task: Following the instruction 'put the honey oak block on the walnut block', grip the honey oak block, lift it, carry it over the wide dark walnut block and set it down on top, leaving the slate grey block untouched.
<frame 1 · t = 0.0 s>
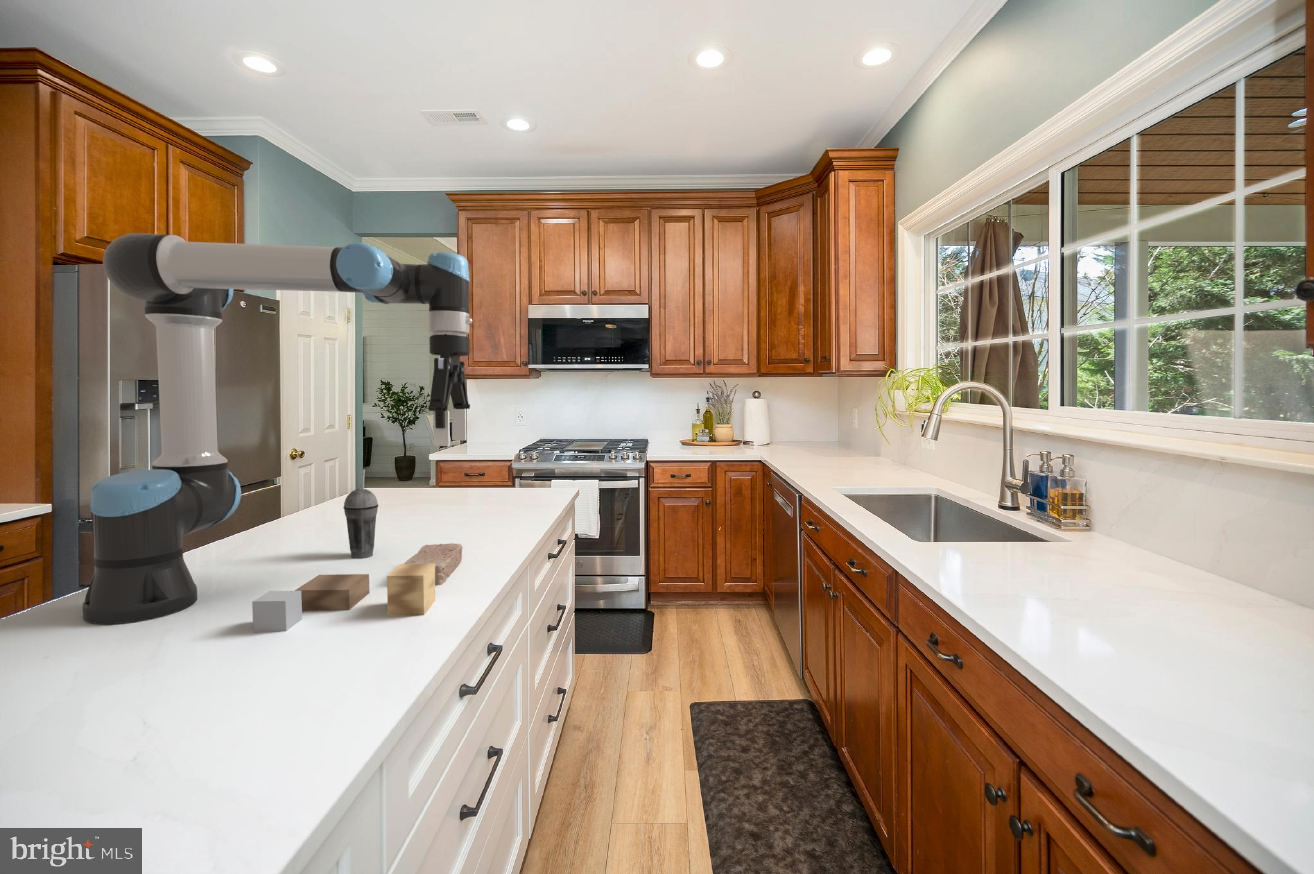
hand: (451, 443, 120), 28 cm above the worktop, fingers open, 13 cm apart
grey block: (278, 625, 98), on the worktop
oak block: (412, 608, 107), on the worktop
walnut block: (334, 603, 110), on the worktop
beverage cup: (362, 556, 140), on the worktop
brick: (434, 575, 128), on the worktop
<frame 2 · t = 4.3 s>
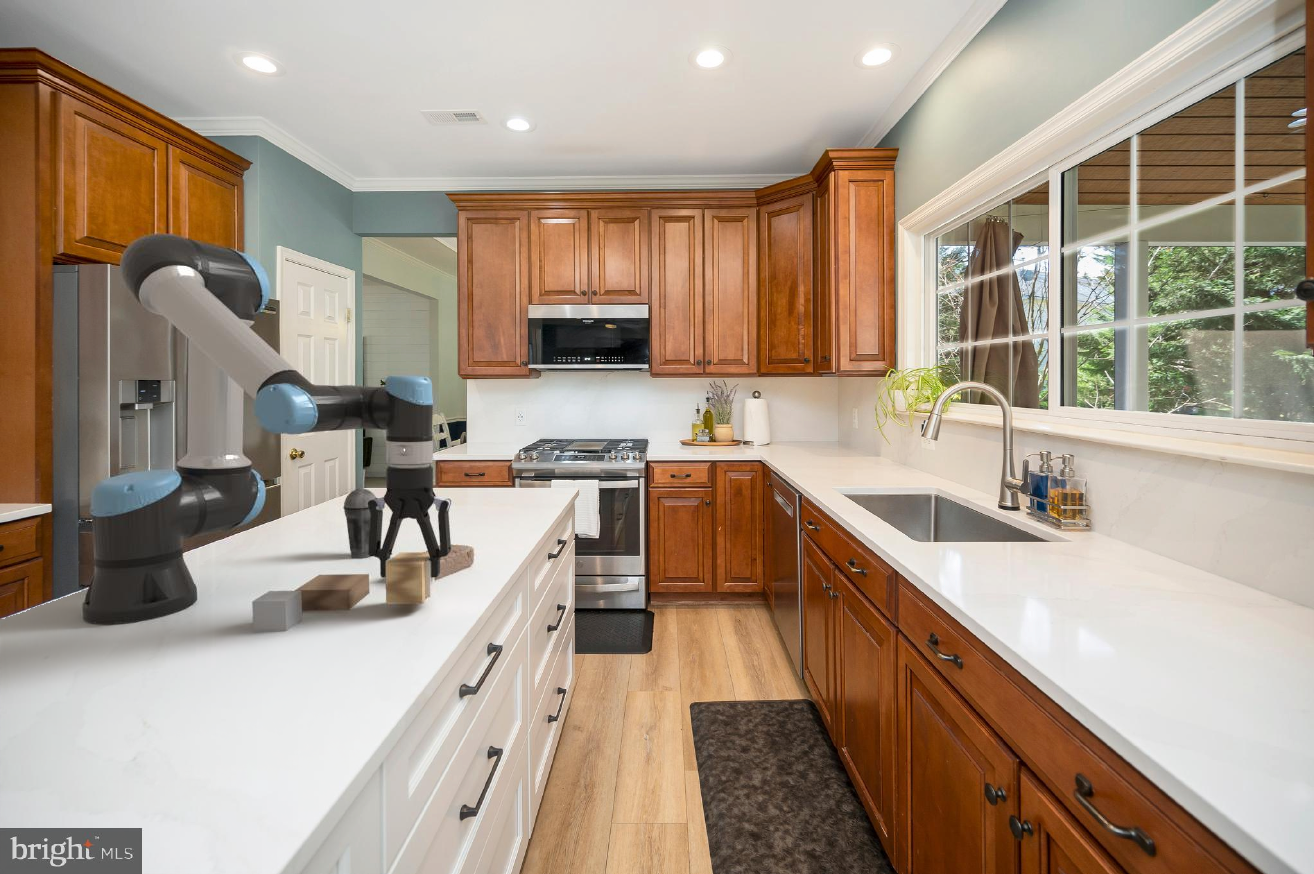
hand: (410, 594, 107), 2 cm above the worktop, fingers closed on oak block, 6 cm apart
oak block: (410, 596, 107), point 2 cm above the worktop, touching gripper
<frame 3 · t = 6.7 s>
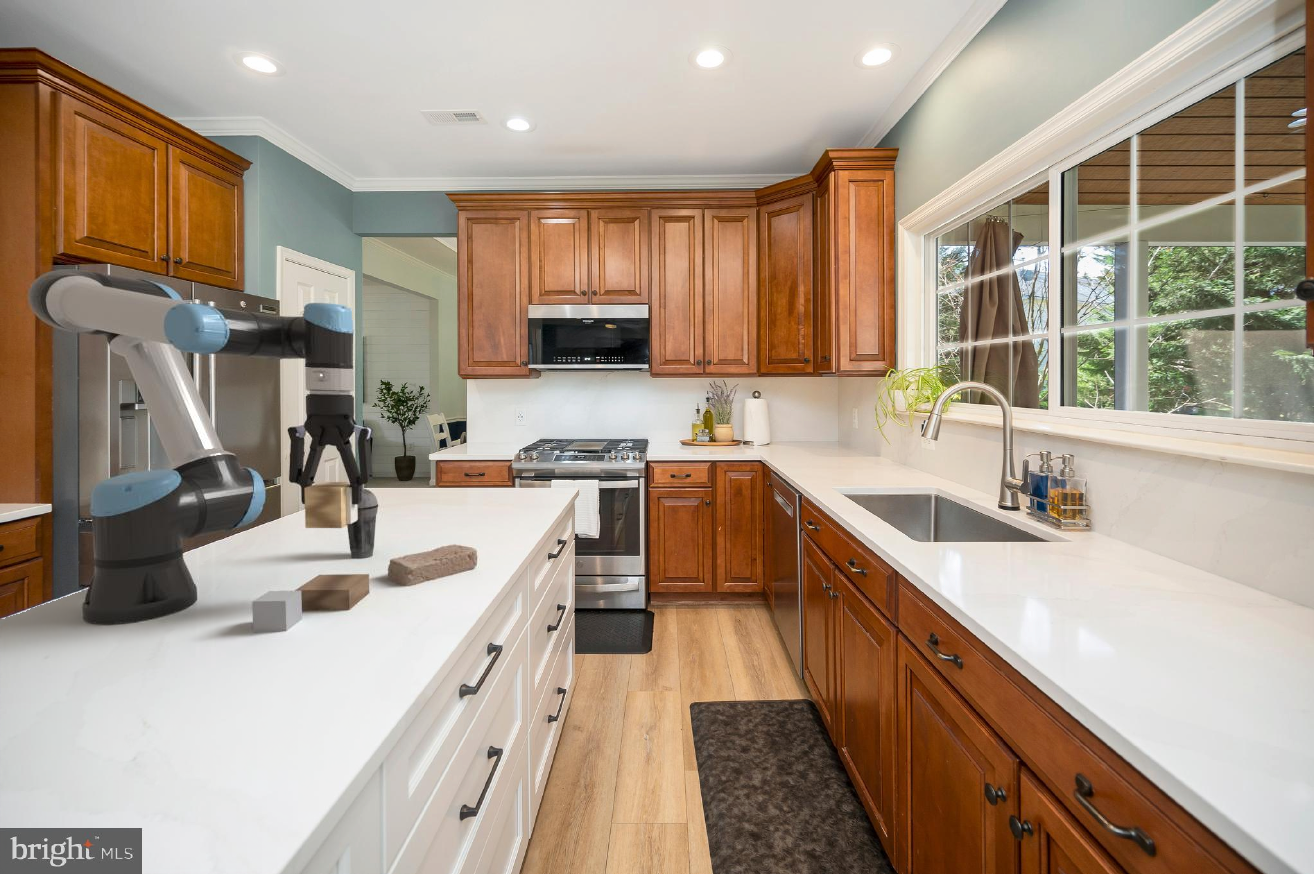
hand: (332, 521, 109), 15 cm above the worktop, fingers closed on oak block, 6 cm apart
oak block: (332, 523, 109), point 14 cm above the worktop, touching gripper
when the fingers open (5 cm above the worktop, at t = 9.2 s): oak block drops 1 cm, resting on walnut block.
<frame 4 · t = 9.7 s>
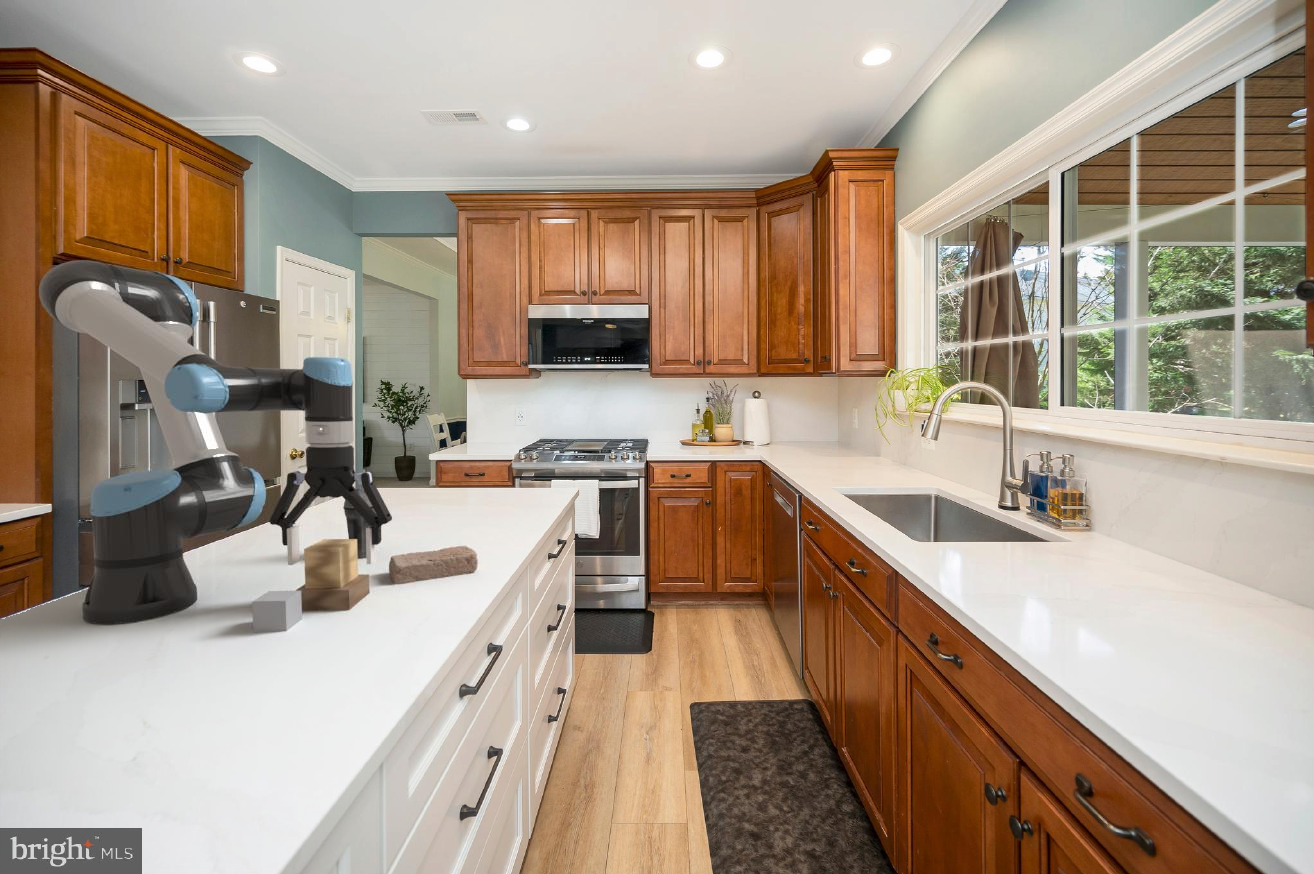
hand: (333, 562, 109), 7 cm above the worktop, fingers open, 13 cm apart
oak block: (332, 581, 109), point 4 cm above the worktop, touching walnut block
walnut block: (334, 603, 110), on the worktop, touching oak block
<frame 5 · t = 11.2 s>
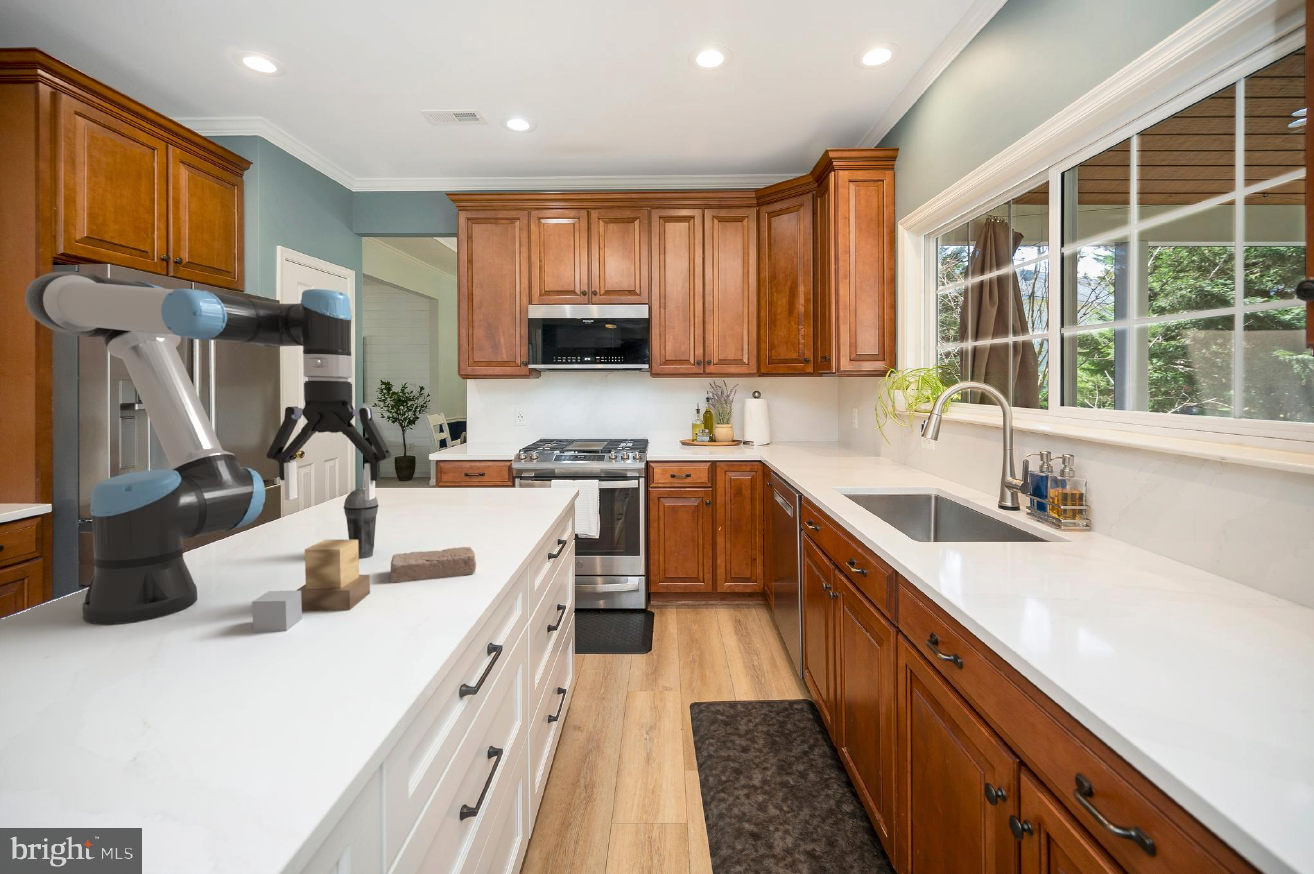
hand: (330, 499, 108), 19 cm above the worktop, fingers open, 13 cm apart
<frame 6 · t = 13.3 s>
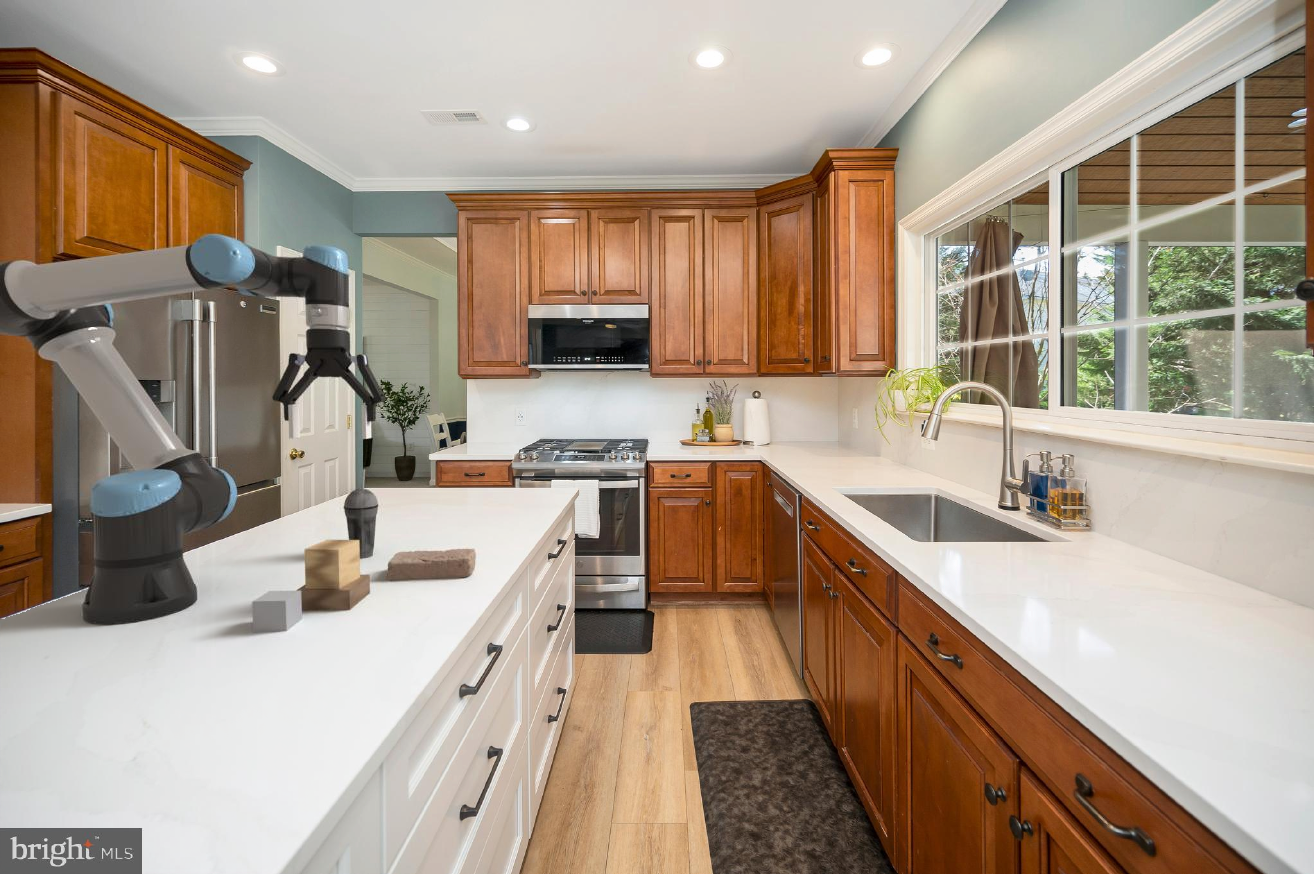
hand: (331, 438, 119), 29 cm above the worktop, fingers open, 13 cm apart
at the end: oak block 0.3 cm off-centre on the walnut block, point 4.0 cm above the walnut block's base; oak block tilted 0°; grey block moved 0.1 cm from its start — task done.
